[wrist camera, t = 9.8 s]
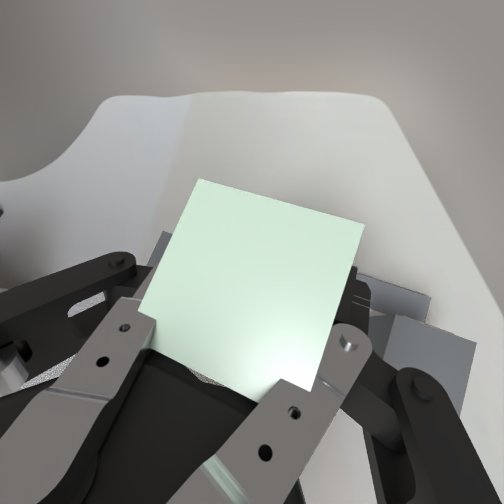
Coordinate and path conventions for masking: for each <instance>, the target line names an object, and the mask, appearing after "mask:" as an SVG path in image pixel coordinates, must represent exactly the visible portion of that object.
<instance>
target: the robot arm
mask: <svg viewBox="0 0 504 504" xmlns="http://www.w3.org/2000/svg"><path fill="white" fill-rule="evenodd" d="M159 263H160V262H159ZM159 263H157V264H156V265H155V266H154V267H148V266H140V265H136V259H135V257H134V255H132V254H130V253H128V252H112V253H109V254H106V255H103V256H100V257H97V258H95V259H92V260H89V261H86V262H84V263H81V264H78V265H75V266H73V267H70V268H67V269H64V270H62V271H59V272H56V273H53V274H51V275H48V276H45V277H42V278H40V279H37V280H34V281H31V282H29V283H26V284H23V285H20V286H18V287H15V288H12V289H4V288H0V504H306V502H305V499H304V495H303V492H302V488H301V484H300V481H299V476H300V475H301V473H302V471H303V469H304V468H305V466H306V464H307V463H308V461H309V459H310V457H311V456H312V454H313V452H314V451H315V449H316V447H317V445H318V444H319V442H320V440H321V439H322V437H323V435H324V434H325V432H326V430H327V428H328V427H329V425H330V423H331V422H332V420H333V418H334V416H335V415H336V413H337V411H338V410H339V408H341V409H342V410H343V411H344V412H345V413H346V414H348V415H349V416H350V417H351V418H352V419H354V420H355V421H356V422H357V423H358V424H359V425H361V426H362V428H363V434H364V439H365V444H366V449H367V454H368V459H369V464H370V469H371V474H372V479H373V484H374V489H375V494H376V499H377V504H502V503H501V501H500V499H499V497H498V495H497V493H496V491H495V489H494V487H493V485H492V483H491V481H490V479H489V477H488V475H487V473H486V471H485V468H484V466H483V464H482V462H481V460H480V458H479V456H478V454H477V452H476V450H475V448H474V446H473V444H472V442H471V440H470V438H469V436H468V434H467V432H466V430H465V428H464V426H463V424H462V422H461V420H460V418H459V416H458V414H457V412H456V410H455V408H454V406H453V404H452V402H451V400H450V398H449V396H448V394H447V392H446V390H445V389H444V388H443V386H442V385H441V384H440V383H439V382H438V381H437V380H436V379H435V378H433V377H432V376H431V375H429V374H428V373H426V372H424V371H422V370H420V369H417V368H413V367H405V368H402V369H400V370H399V371H398V370H397V369H395V368H394V367H392V366H391V365H389V364H388V363H387V362H385V361H384V360H382V359H381V358H380V357H379V356H378V355H377V354H376V353H375V352H374V350H373V349H372V344H371V341H370V339H369V338H368V328H369V315H370V301H371V290H370V288H369V286H368V284H367V283H366V282H363V281H360V280H357V279H356V275H357V267H354V266H351V269H350V272H349V275H348V278H347V281H346V284H345V287H344V291H343V294H342V297H341V300H340V303H339V306H338V309H337V312H336V315H335V318H334V321H333V324H332V327H331V330H330V333H329V336H328V339H327V342H326V346H325V349H324V352H323V355H322V358H321V361H320V364H319V367H318V370H317V373H316V376H315V379H314V382H313V385H312V388H311V391H307V390H305V389H303V388H301V387H299V386H297V385H295V384H292V383H290V382H288V381H286V380H284V379H282V378H281V379H280V380H279V381H278V382H277V384H276V385H275V386H274V387H273V388H272V389H271V390H270V392H269V393H268V394H267V395H266V396H265V397H264V398H263V400H262V401H261V402H260V403H257V402H255V401H253V400H251V399H249V398H247V397H246V396H244V395H242V394H240V393H238V392H236V391H234V390H232V389H230V388H227V387H222V386H218V385H213V384H208V383H204V382H202V381H200V380H199V379H198V378H197V377H196V376H195V375H194V374H193V373H192V372H191V371H190V370H189V369H188V368H187V367H185V366H184V365H183V364H181V363H179V362H177V361H175V360H173V359H171V358H169V357H167V356H165V355H163V354H161V353H159V352H158V351H156V350H154V349H152V348H150V345H151V341H152V336H153V332H154V328H155V324H156V319H154V318H152V317H150V316H147V315H145V314H143V313H141V312H139V311H138V309H139V307H140V304H141V302H142V300H143V298H144V296H145V294H146V291H147V289H148V287H149V285H150V283H151V281H152V278H153V276H154V274H155V272H156V270H157V268H158V265H159ZM101 292H104V296H105V301H103V302H101V303H99V304H97V305H95V306H93V307H91V308H88V309H86V310H84V311H82V312H80V313H78V314H76V315H74V316H72V317H69V318H68V311H69V309H70V308H71V307H72V306H73V305H75V304H76V303H79V302H81V301H83V300H85V299H87V298H90V297H92V296H94V295H96V294H98V293H101ZM76 353H77V354H76ZM74 354H76V356H75V357H74V358H73V360H72V361H71V362H70V364H69V365H68V366H67V368H66V369H65V370H64V372H63V373H62V374H61V375H60V377H57V378H54V379H51V380H48V381H45V382H43V383H40V384H37V385H34V386H31V387H28V388H25V389H22V390H21V387H22V385H23V384H24V383H25V382H27V381H29V380H31V379H32V378H34V377H36V376H38V375H39V374H41V373H43V372H45V371H46V370H48V369H50V368H52V367H53V366H55V365H57V364H59V363H60V362H62V361H64V360H66V359H67V358H69V357H71V356H73V355H74ZM291 417H292V418H293V419H292V418H291Z"/></svg>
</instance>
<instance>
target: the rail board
mask: <svg viewBox="0 0 504 504" xmlns="http://www.w3.org/2000/svg"><path fill="white" fill-rule="evenodd" d="M172 235H173V234H170V233H167V232H164V231H163V232H162V234H161V236H160V238H159V240H158V242H157V245H156V247H155V249H154V251H153V253H152V255H151V257H150V260H149V262H148V264H147V266H148V267H154V266H155V265H156V264H157V263H159V262H160V261H161V259H162V257H163V255H164V252H165V250H166V248H167V246H168V244H169V242H170V239H171V237H172ZM356 279H357V280H360V281H363V282H366V283H367V284H368V286H369V288H370V290H371V301H370V315H369V328H368V338H369V339H370V341H371V344H372V349H373V350H374V352H375V353H376V354H377V355H378V356H379V357H380V358H381V359H382V360H384V361H385V362H387V363H388V364H389V365H391V366H392V367H394V368H395V369H397V370H398V371H399V370H400V369H402V368H405V367H413V368H417V369H420V370H422V371H424V372H426V373H428V374H429V375H431V376H432V377H433V378H435V379H436V380H437V381H438V382H439V383H440V384H441V385H442V386H443V388H444V389H445V390H446V392H447V394H448V396H449V398H450V400H451V402H452V404H453V406H454V408H455V410H456V412H457V414H458V416H459V418H460V413H461V409H462V404H463V400H464V396H465V391H466V387H467V383H468V378H469V374H470V370H471V365H472V361H473V357H474V352H475V348H476V344H477V343H476V342H473V341H470V340H467V339H464V338H462V337H459V336H456V335H454V334H453V333H450V332H448V331H445V330H442V329H439V328H436V327H434V326H431V325H428V324H425V319H426V315H427V311H428V308H429V304H430V300H431V297H428V296H425V295H422V294H419V293H416V292H413V291H410V290H407V289H403V288H400V287H397V286H394V285H391V284H388V283H385V282H382V281H379V280H376V279H373V278H370V277H367V276H364V275H361V274H358V273H357V275H356Z"/></svg>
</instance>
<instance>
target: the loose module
mask: <svg viewBox="0 0 504 504" xmlns="http://www.w3.org/2000/svg"><path fill="white" fill-rule="evenodd" d="M364 226H365V224H362V223H358V222H355V221H351V220H347V219H344V218H340V217H337V216H333V215H329V214H326V213H322V212H318V211H315V210H311V209H308V208H304V207H300V206H297V205H293V204H290V203H286V202H282V201H279V200H275V199H271V198H268V197H264V196H261V195H257V194H253V193H250V192H246V191H243V190H239V189H235V188H232V187H228V186H225V185H221V184H217V183H214V182H210V181H206V180H203V179H198V181H197V183H196V185H195V187H194V190H193V192H192V194H191V196H190V198H189V200H188V203H187V205H186V207H185V209H184V211H183V213H182V216H181V218H180V220H179V222H178V224H177V226H176V229H175V231H174V233H173V235H172V237H171V239H170V242H169V244H168V246H167V248H166V250H165V252H164V255H163V257H162V259H161V261H160V263H159V265H158V268H157V270H156V272H155V274H154V276H153V278H152V281H151V283H150V285H149V287H148V289H147V291H146V294H145V296H144V298H143V300H142V302H141V304H140V307H139V309H138V311H139V312H141V313H143V314H145V315H147V316H150V317H152V318H154V319H156V324H155V328H154V332H153V336H152V341H151V345H150V348H152V349H154V350H156V351H158V352H159V353H161V354H163V355H165V356H167V357H169V358H171V359H173V360H175V361H177V362H179V363H181V364H183V365H185V366H187V367H189V368H191V369H193V370H195V371H197V372H199V373H201V374H202V375H204V376H206V377H208V378H210V379H212V380H214V381H216V382H218V383H220V384H222V385H224V386H226V387H228V388H230V389H232V390H234V391H236V392H238V393H240V394H242V395H244V396H246V397H247V398H249V399H251V400H253V401H255V402H257V403H260V402H261V401H262V400H263V398H264V397H265V396H266V395H267V394H268V393H269V392H270V390H271V389H272V388H273V387H274V386H275V385H276V384H277V382H278V381H279V380H280V379H281V378H282V379H284V380H286V381H288V382H290V383H292V384H295V385H297V386H299V387H301V388H303V389H305V390H307V391H311V388H312V385H313V382H314V379H315V376H316V373H317V370H318V367H319V364H320V361H321V358H322V355H323V352H324V349H325V346H326V342H327V339H328V336H329V333H330V330H331V327H332V324H333V321H334V318H335V315H336V312H337V309H338V306H339V303H340V300H341V297H342V294H343V291H344V287H345V284H346V281H347V278H348V275H349V272H350V269H351V266H352V263H353V260H354V257H355V254H356V251H357V248H358V245H359V242H360V239H361V236H362V233H363V229H364ZM291 418H292V417H291ZM292 419H293V418H292Z"/></svg>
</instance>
